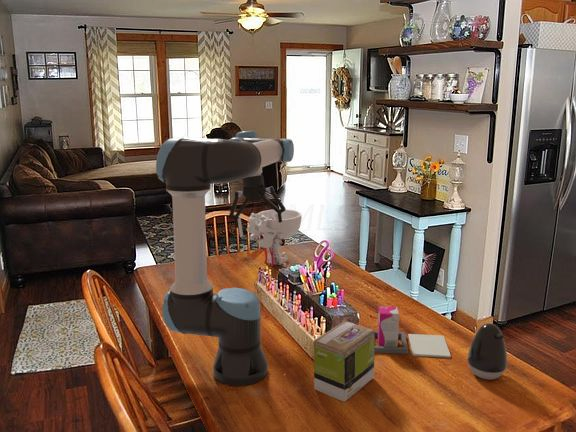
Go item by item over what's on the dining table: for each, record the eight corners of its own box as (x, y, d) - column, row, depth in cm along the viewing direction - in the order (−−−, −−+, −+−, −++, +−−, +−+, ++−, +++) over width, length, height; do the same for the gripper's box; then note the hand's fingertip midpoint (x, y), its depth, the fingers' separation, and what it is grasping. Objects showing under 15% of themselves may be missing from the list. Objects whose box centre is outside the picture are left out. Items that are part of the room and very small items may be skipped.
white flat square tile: (450, 357, 156) (450, 355, 156) (412, 355, 158) (412, 353, 157) (443, 337, 169) (443, 335, 169) (408, 335, 170) (408, 333, 170)
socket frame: (407, 354, 159) (408, 349, 158) (369, 352, 160) (369, 347, 159) (404, 336, 170) (404, 332, 169) (368, 334, 171) (368, 330, 170)
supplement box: (395, 340, 167) (397, 306, 164) (397, 349, 162) (399, 314, 159) (377, 339, 168) (378, 305, 165) (378, 348, 162) (379, 313, 159)
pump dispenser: (481, 387, 141) (486, 335, 137) (459, 367, 151) (463, 318, 147) (514, 381, 144) (520, 330, 140) (490, 363, 154) (495, 314, 150)
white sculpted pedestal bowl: (285, 254, 251) (285, 207, 245) (309, 265, 235) (310, 215, 230) (239, 264, 237) (238, 214, 231) (261, 276, 222) (260, 223, 216)
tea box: (344, 366, 152) (345, 319, 148) (374, 378, 146) (376, 329, 142) (312, 389, 140) (313, 338, 137) (344, 403, 134) (345, 350, 131)
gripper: (287, 170, 191) (295, 228, 193) (218, 179, 192) (227, 236, 194) (286, 171, 183) (294, 231, 186) (215, 180, 184) (224, 240, 187)
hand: (260, 234), depth 190 cm, fingers open, 13 cm apart
